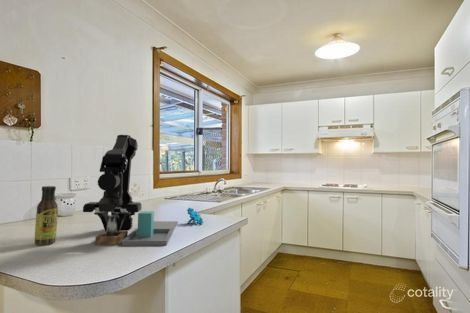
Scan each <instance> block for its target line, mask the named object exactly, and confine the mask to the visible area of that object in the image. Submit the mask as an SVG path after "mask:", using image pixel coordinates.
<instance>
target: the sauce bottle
mask: <svg viewBox="0 0 470 313" xmlns="http://www.w3.org/2000/svg"><path fill="white" fill-rule="evenodd" d="M56 190H57V189H56V186H55V185H44V186H41V198H40V199H41V200H40V201H39V203H38V204H37V206H36V213H35V214H36V215H35V227H34V228H35V229H34V245H36V246H47V245H51V244H54V243H56V237H57V231H58V230H57V228H58V227H57V226H58V215H59V214H58V212H59V211H58V210H59V209H58V207H59V206H58V203H57V202H56V201H55V194H56Z"/></svg>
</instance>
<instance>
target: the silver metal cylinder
mask: <svg viewBox="0 0 470 313" xmlns="http://www.w3.org/2000/svg"><path fill="white" fill-rule="evenodd" d="M118 220H119V215H111V214H108V216H107V226H106V236H118Z"/></svg>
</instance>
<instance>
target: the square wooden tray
mask: <svg viewBox="0 0 470 313" xmlns="http://www.w3.org/2000/svg"><path fill="white" fill-rule="evenodd" d="M128 231H129V230H128ZM128 231H118V236H106V231H105V230H104V231H102V232H101V233H99V234H98V235H97V236H95V239H94V240H95V243H94V245H95V246H117V245H118V246H122V241H123V240H124V239H125V238H126V237H127V236H128V235H129V232H128Z"/></svg>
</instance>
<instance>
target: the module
mask: <svg viewBox="0 0 470 313" xmlns="http://www.w3.org/2000/svg"><path fill="white" fill-rule="evenodd" d="M154 218H155V211H154V210H140V211H139V212H137V228H138V234H137V237H151V236H152V235H153V229H154V221H155V219H154Z"/></svg>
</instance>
